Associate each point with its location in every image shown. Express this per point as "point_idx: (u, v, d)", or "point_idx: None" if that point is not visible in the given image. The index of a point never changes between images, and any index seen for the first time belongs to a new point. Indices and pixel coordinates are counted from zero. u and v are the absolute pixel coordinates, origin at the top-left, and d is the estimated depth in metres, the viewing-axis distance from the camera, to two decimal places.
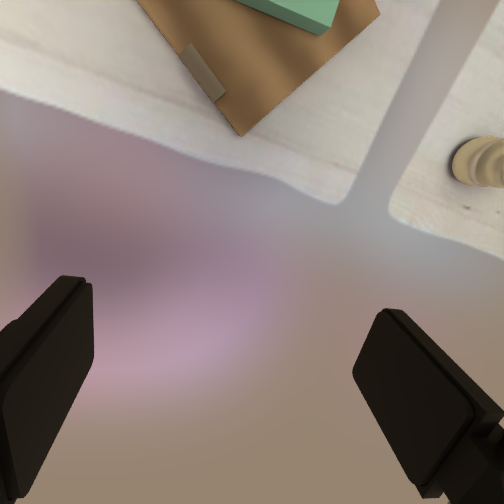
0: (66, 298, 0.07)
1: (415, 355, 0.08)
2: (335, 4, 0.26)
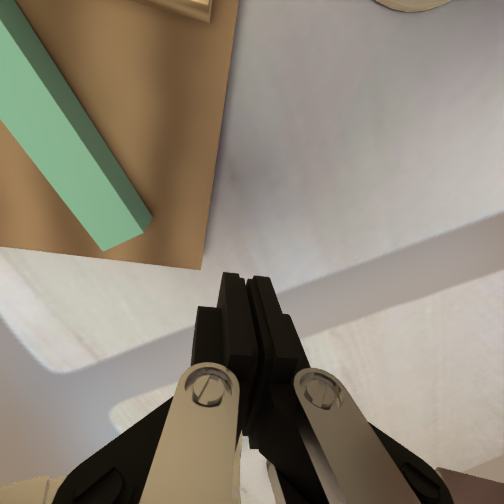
0: None
1: (255, 314, 0.08)
2: (124, 237, 0.18)
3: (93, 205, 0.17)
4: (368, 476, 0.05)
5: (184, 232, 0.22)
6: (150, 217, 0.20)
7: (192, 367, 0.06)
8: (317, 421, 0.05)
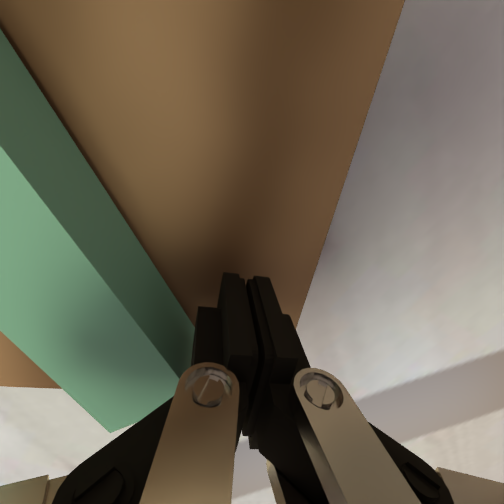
0: None
1: (255, 314, 0.08)
2: (154, 409, 0.09)
3: (94, 360, 0.08)
4: (368, 476, 0.05)
5: None
6: None
7: (192, 367, 0.06)
8: (317, 421, 0.05)
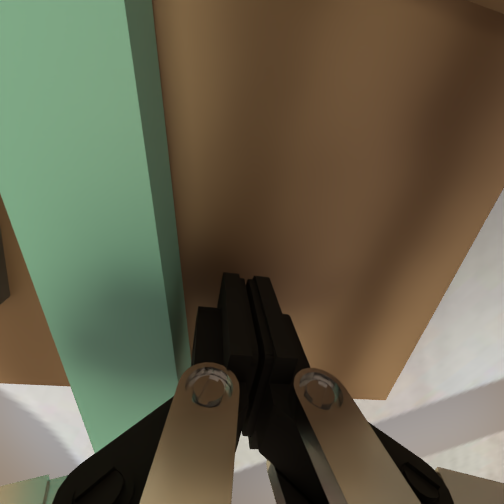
0: None
1: (254, 314, 0.08)
2: None
3: (128, 412, 0.09)
4: (368, 476, 0.05)
5: (381, 353, 0.14)
6: None
7: (192, 367, 0.06)
8: (317, 421, 0.05)
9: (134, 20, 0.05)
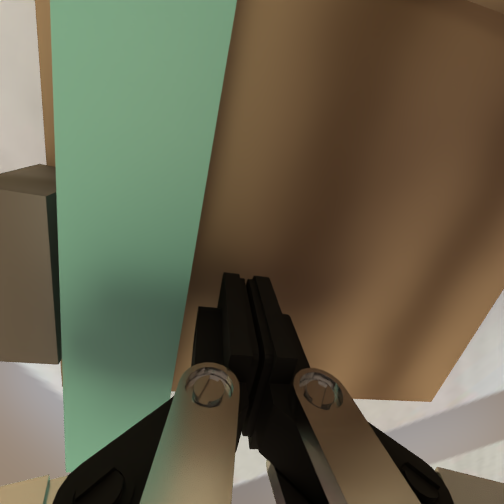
0: None
1: (254, 314, 0.08)
2: None
3: (112, 418, 0.09)
4: (368, 476, 0.05)
5: (432, 357, 0.15)
6: None
7: (193, 367, 0.06)
8: (317, 421, 0.05)
9: None
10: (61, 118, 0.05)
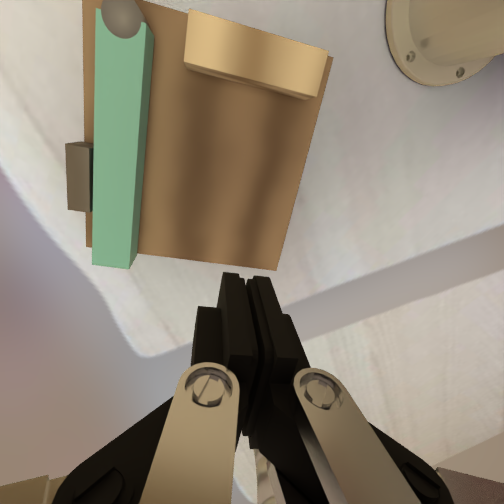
0: None
1: (255, 314, 0.08)
2: (113, 264, 0.25)
3: (110, 237, 0.24)
4: (368, 476, 0.05)
5: (268, 241, 0.29)
6: (136, 255, 0.27)
7: (192, 367, 0.06)
8: (317, 421, 0.05)
9: (142, 111, 0.21)
10: (95, 125, 0.20)
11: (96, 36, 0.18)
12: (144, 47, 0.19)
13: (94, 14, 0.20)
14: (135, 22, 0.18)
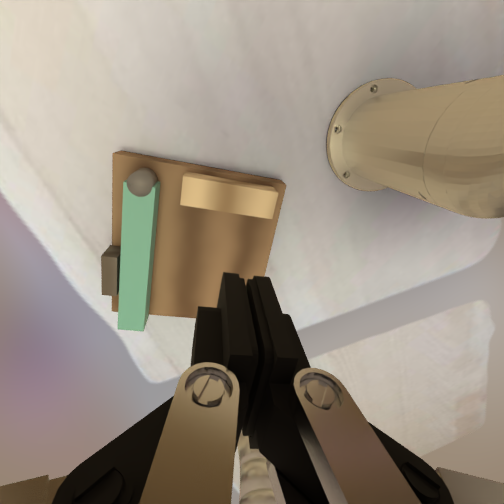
0: None
1: (255, 314, 0.08)
2: (132, 328, 0.35)
3: (130, 311, 0.34)
4: (368, 476, 0.05)
5: None
6: (147, 317, 0.37)
7: (192, 367, 0.06)
8: (317, 421, 0.05)
9: (152, 233, 0.31)
10: (122, 245, 0.30)
11: (123, 196, 0.28)
12: (154, 200, 0.29)
13: (120, 170, 0.30)
14: (148, 187, 0.28)
